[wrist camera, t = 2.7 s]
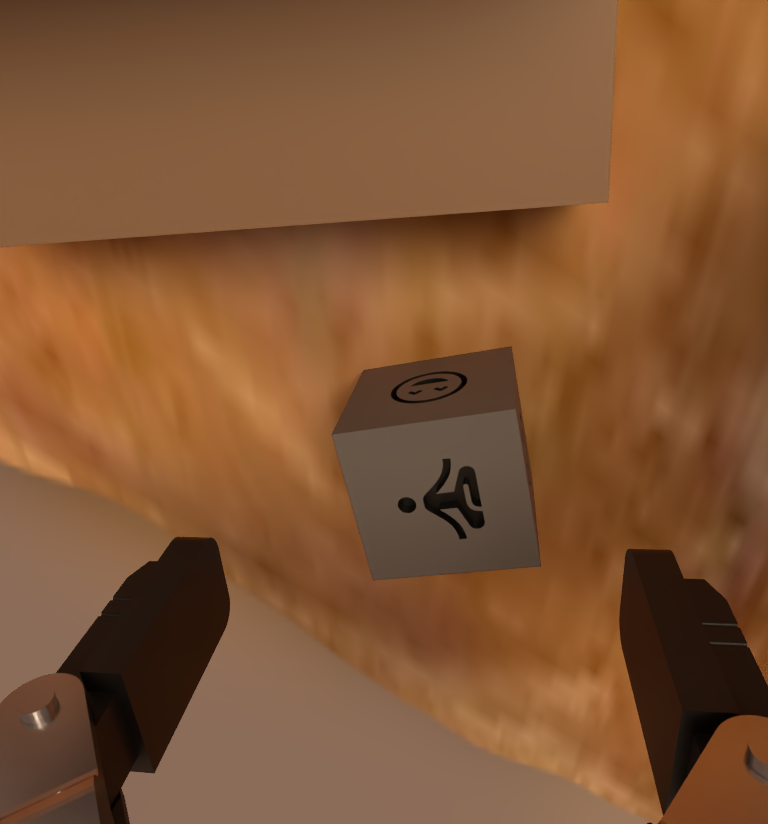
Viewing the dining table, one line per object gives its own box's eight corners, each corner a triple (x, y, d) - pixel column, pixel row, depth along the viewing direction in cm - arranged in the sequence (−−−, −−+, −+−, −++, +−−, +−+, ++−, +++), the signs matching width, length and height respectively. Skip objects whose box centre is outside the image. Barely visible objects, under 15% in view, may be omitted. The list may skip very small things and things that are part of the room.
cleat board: (591, -135, 16) (747, -534, 6) (581, 179, 19) (675, 261, 9) (7, -41, 19) (-541, -203, 9) (79, 219, 22) (-272, 315, 12)
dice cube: (532, 477, 23) (541, 566, 19) (395, 493, 24) (373, 580, 20) (511, 345, 21) (515, 409, 17) (364, 369, 22) (331, 434, 18)
